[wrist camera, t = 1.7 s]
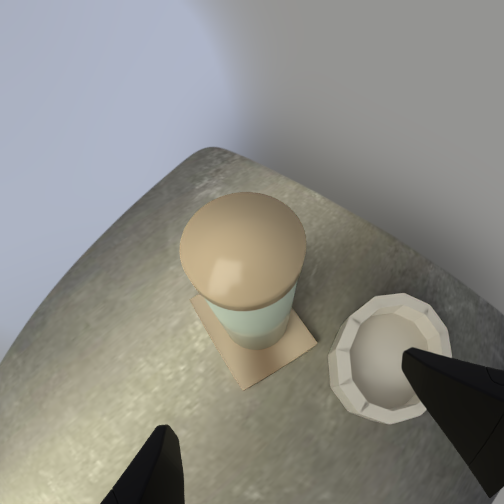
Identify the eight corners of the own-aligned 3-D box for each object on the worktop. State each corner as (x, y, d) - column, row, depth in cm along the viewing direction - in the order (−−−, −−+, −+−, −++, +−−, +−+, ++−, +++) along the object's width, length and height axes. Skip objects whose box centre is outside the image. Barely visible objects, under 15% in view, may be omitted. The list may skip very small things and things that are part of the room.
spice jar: (244, 363, 21) (216, 328, 10) (211, 309, 23) (162, 227, 12) (302, 327, 22) (332, 256, 11) (266, 277, 24) (261, 176, 13)
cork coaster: (243, 390, 20) (242, 390, 20) (191, 301, 24) (189, 299, 24) (316, 344, 22) (317, 343, 21) (258, 263, 25) (258, 260, 25)
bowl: (370, 443, 17) (384, 448, 14) (304, 351, 21) (309, 344, 19) (450, 366, 19) (468, 360, 16) (391, 285, 23) (403, 271, 21)
